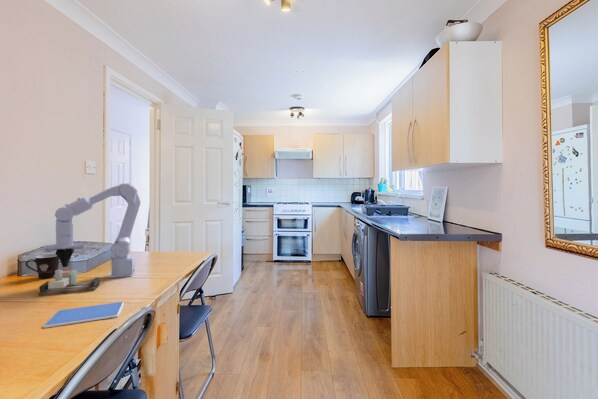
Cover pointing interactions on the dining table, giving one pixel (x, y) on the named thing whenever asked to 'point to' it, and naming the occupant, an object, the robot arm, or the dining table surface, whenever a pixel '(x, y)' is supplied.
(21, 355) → the dining table surface
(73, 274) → the gauge cabinet
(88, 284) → the dark gray tray
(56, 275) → the carriage
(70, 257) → the robot arm
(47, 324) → the tablet computer
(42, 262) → the coffee mug
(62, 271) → the plunger
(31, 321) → the dining table surface
